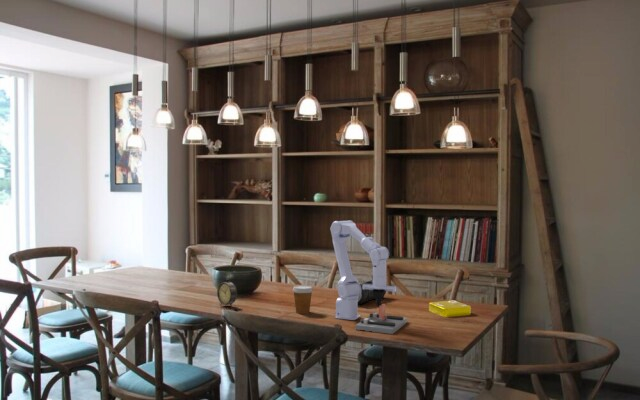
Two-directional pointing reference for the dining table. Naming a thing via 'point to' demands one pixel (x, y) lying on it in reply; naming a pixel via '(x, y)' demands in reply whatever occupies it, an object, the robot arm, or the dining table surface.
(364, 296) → the muzzle brake
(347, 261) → the robot arm
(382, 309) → the lever
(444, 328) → the dining table surface
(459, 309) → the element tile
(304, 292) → the disposable coffee cup
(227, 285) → the alarm clock
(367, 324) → the box
